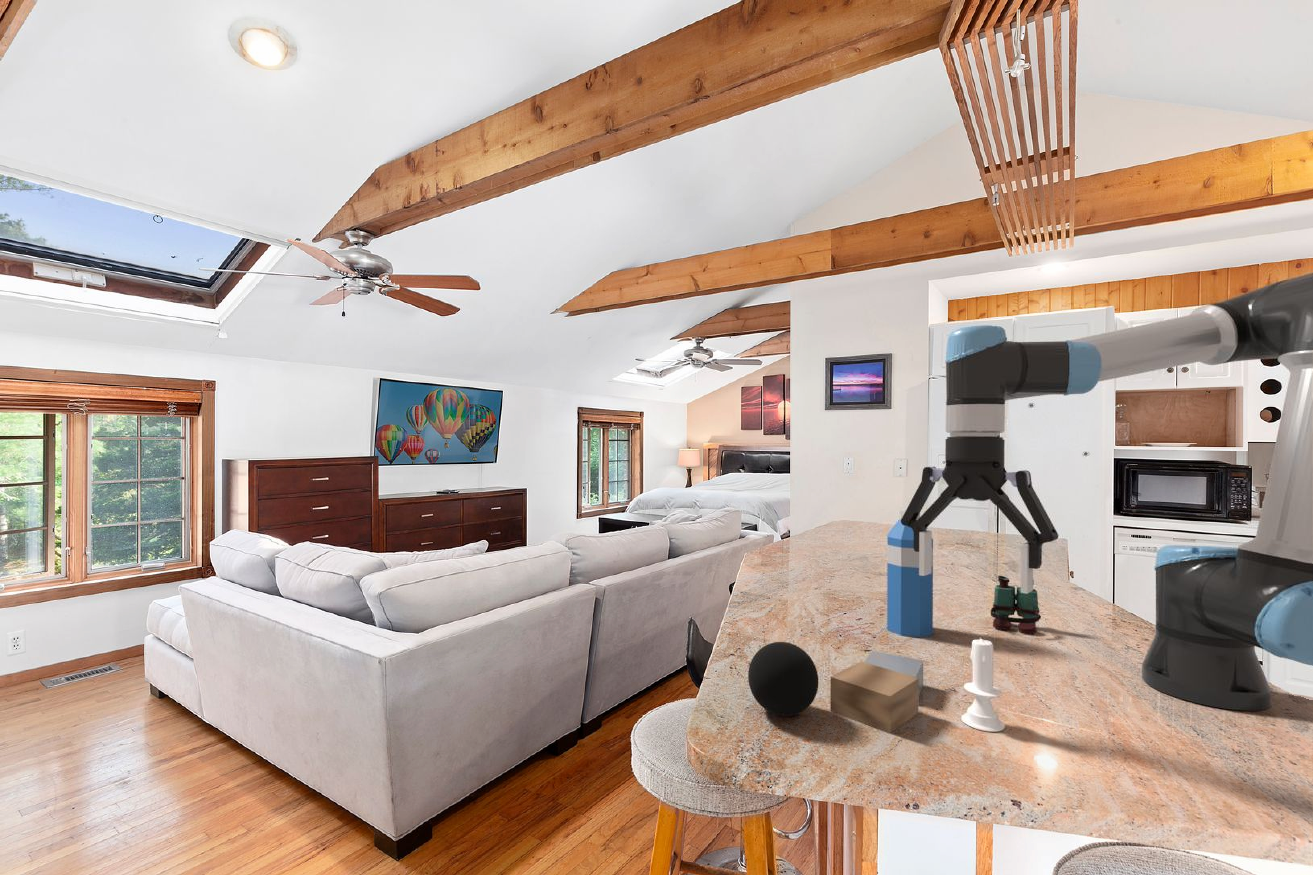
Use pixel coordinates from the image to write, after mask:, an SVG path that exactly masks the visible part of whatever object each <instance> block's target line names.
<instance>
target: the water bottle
mask: <svg viewBox="0 0 1313 875" xmlns="http://www.w3.org/2000/svg"><path fill="white" fill-rule="evenodd" d="M906 510H907V508H905V509H902V508H901V509H899V520H897V521H896V523H895V524H894V526H892V528H891V529H890V530H889V532H887V535H886V536H887V543H886V544H887V545H886V546H887V548H886V550H887V554H886V555H887V556H886V558H887V559H886V560H887V561H886V562H887V564H886V565H887V568H886V570H887V572H886V574H887V575H886V576H887V577H886V579H887V581H886V582H887V583H886V585H887V586H886V587H887V588H886V590H887V591H886V597H887V598H886V612H887V613H886V627H887V628H886V630H887V631H888V632H891V633H894V634H897V635H899V636H902V637H903V636H906V637H912V638H925V637H930V636H933V635H934V633H933V632H934V630H933V629H934V626H933V624H934V617H933V614H934V606H933V605H934V603H933V602H934V600H933V599H934V539H933V538H932V565H931V574H928V575H925V576H921V575H919V552H915V551H914V548H913V543H914V532H913V530H912V528H910V527H908V526H904V525H902V524H901V519H902V517H903V515H904V513H905V511H906ZM920 517H921V513H920V514H919V515H918V517H917V519H916V520H918V519H919V518H920ZM925 531H928V530H927V529H925Z"/></svg>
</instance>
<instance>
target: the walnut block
mask: <svg viewBox="0 0 1313 875" xmlns="http://www.w3.org/2000/svg"><path fill="white" fill-rule="evenodd" d="M919 697H920V694H919V678H916V677H912V676H909V675H906V674H902V673H899V672H896V671H892V670H889V669H885V668H882V667H879V666H875V665H872V664H869V663H865V662H864V661H858V662H856V663H855V664H853V665H851V666H849V667H847V668H845V669H843V670H841V671H839V672H837V673H835V674H833V675H831V676H830V708H829V710H830V712H832V713H836V714H838V715H840V716H843V717H846V718H848V719H851V720H854V721H856V722H858V723H861V724H864V725H866V726H867V725H868V726H869V727H872V728H875V729H878V730H880V731H883V732H885V733H888V734H891V733H893V732H894V731H895V730H897V729H899V727H902V725H904V724H905V723H906V722H908V721H909V720H911V719H912V718H913V717H914V716H916V715H917V714H919V712H920V711H919V709H920V708H919V707H920V706H919V703H920V702H919V700H920V699H919Z"/></svg>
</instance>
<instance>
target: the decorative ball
mask: <svg viewBox="0 0 1313 875" xmlns="http://www.w3.org/2000/svg"><path fill="white" fill-rule="evenodd" d="M747 677H748V678H747V680H748V684H749V689H750V692H751V694H752V696H753V698H754V699H755V701H756V702H757V703H758V704H759V705H760V706H761V707H762V708H763V709H764V710H766V711H768V712H770V714H773V715H776V716H782V717H793V716H795V715H798V714H802V712H805V711H806V710H807V709H808V708H809V707H810V706H811V705H812V703H813V702H814V701H815V699H816V696H817V694H818V690H819V674H818V670H817V667H816V664H815V662H814V661H813V659H812V658H811V656H810V655H809V654H808V653H807V652H806V651H805V650H804V649H803V648H801V647H800V646H797V644H793V643H790V642H787V641H774V642H771V643H768V644H766V645H764V646H763V647H761V648H760V649H758V650H757V652H756V653H755V654H754V656H753V657H752V659H751V661H750V663H749V666H748V672H747Z"/></svg>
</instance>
